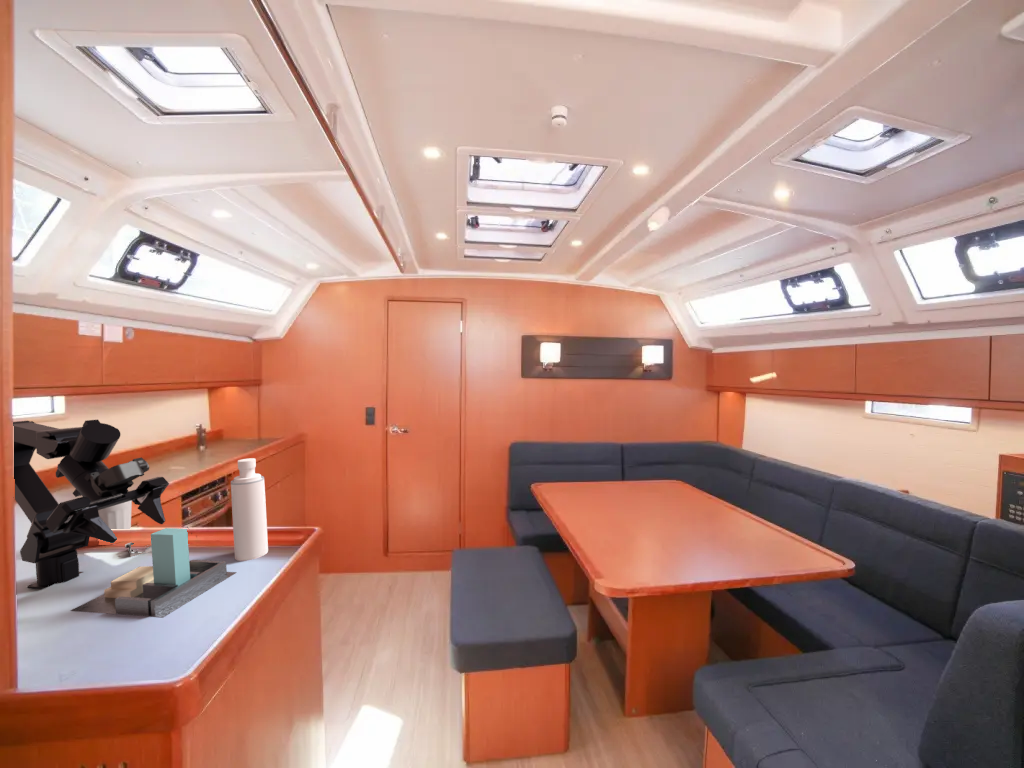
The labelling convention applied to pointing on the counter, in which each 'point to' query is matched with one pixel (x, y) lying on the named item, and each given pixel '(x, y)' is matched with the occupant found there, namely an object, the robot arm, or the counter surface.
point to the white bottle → (249, 512)
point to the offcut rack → (163, 593)
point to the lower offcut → (124, 592)
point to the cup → (117, 516)
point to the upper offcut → (133, 578)
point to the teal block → (170, 556)
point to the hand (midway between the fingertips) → (140, 531)
